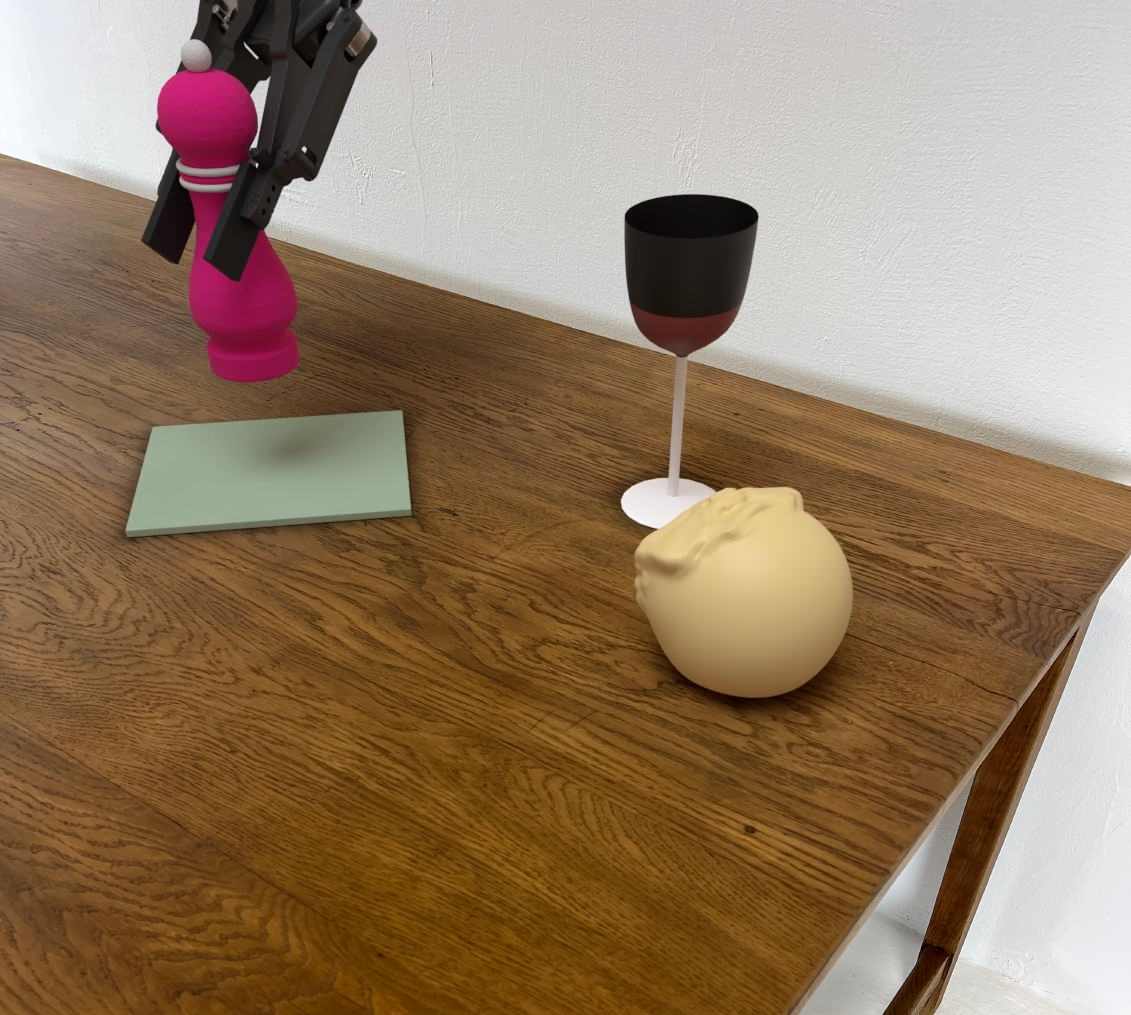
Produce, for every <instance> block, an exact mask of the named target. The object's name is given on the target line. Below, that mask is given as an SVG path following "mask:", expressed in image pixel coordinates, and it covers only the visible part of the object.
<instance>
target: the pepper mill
mask: <svg viewBox="0 0 1131 1015" xmlns="http://www.w3.org/2000/svg"><path fill="white" fill-rule="evenodd" d="M180 59H181V60H182V62H183V64H184V66H185V67H186V68H187V69H188V70H185V71H182V72H179V73H177V74H176V73H175V74H176V75H175V74H173V75H172V76H171V77H169V79H168V80H167V81H165V83H164V84H163V86H162V87H161V89H160V90H159V91H160V92H159V94H158V97H157V104H156V114H157V119H158V123H159V126H160V129H161V132H162V134H163V135H162V134H161V135H162V136H163V138H164V139H165V141H166V142H167V143H168V144H169V146H170V147H173V148H174V149H175V150H176V151H177V152H178V153H179V155H180V157H181V158H179V159H178V161H177V162H176V167H177V169H178V170H179V171H180V179H179V181H180V183H181V185H182V186H183V187H184V188H186V189H188V191H189V194H190V197H191V200H192V204H193V208H194V215H195V227H196V228H195V243H194V244H195V246H194V251H193V259H192V263H191V269H190V274H189V279H188V302H189V308H190V314H191V317H192V319H193V321H194V322H195V324H196V325H197V326H198V327H199V329H201V331H203V332H204V333H205V334H206V335H208V336H209V337H210V338H209V339H208V341H207V342H206V346H205V347H206V353H207V357H208V361H209V366H210V369H211V372H212V373H213V374H214V375H216V376H217V377H218V378H221V379H223V380H226V381H228V382H229V381H230V382H235V383H259V382H260V383H261V382H267V381H271V380H275V379H278V378H281V377H284V376H286V375H288V374H289V373H292V371H293V370H295V369H296V368H297V367H299V366H298V365H299V363H300V360H301V356H300V350H299V343H298V339H297V336H296V333H294V332H293V331H292V330H291V329H289V328H290V326H291V325H292V323H293V322H294V320H295V318H296V316H297V313H298V311H299V310H298V309H299V302H298V300H299V299H298V297H297V296H298V295H297V292H296V289H295V285H294V282H293V280H292V278H291V276H290V274H289V271H288V269H287V268H286V265H285V264H284V262H283V261H282V259H281V258H280V256H279V255H278V253H277V251H276V250H275V248H274V247H273V245H272V243H271V242H270V239H269V238H268V236H267V233H266V231H265V229H264V230H260V232H259V234H258V237H257V239H256V242H255V244H254V247H253V249H252V252H251V254H250V257H249V259H248V262H247V264H246V267H245V269H244V272H243V274H242V277H241V279H240V282H237V281H233V280H231V279H229V278H228V277H227V276H225V275H224V274H223V273H221V272H220V271H219V270H217V269H216V268H215V267H213V266H212V265H211V264H209V263H208V262H207V261H205V260H204V259H203V256H204V253H205V251H206V248H207V246H208V243H209V241H210V238H211V236H212V233H213V231H214V228H215V226H216V223H217V221H218V218H219V216H220V213H221V211H222V208H223V206H224V203H225V201H226V198H227V196H228V193H229V191H230V188H231V186H232V183H233V181H234V178H235V176H236V173H237V171H238V168H239V166H240V163H241V161H247V162H251V163H252V164H253V165H254V166H255V167H256V168H257V163H256V162H255V161H254V160H253V159H252V158H251V157H250V156H249V155H248V154H247V148H249V149H250V148H252V145H253V143H254V141H255V139H256V137H257V134H258V133H259V119H258V118H259V117H258V112H257V109H256V105H255V101H254V99H253V97H252V94H251V95H250V94H249V92H248V90H247V89H246V88H245V86H244V85H243V84H242V83H241V82H240V81H239V80H238V79H236V78H235V77H233V76H232V75H230V74H228V73H226V72H223V71H220V70H216V69H212V68H210V66H211V61H212V57H211V53H210V50H209V48H208V47H207V46H206V45H205V44H204V43H203V42H201V41H199V40H195V39H193V40H190V39H189V40H187V41H185V42H184V43H183V45H182V46H181V49H180ZM250 150H251V149H250Z"/></svg>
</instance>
